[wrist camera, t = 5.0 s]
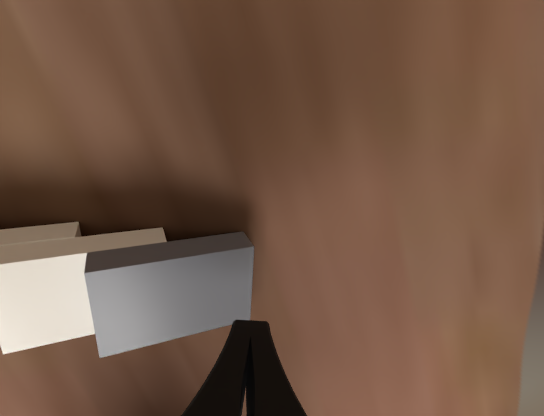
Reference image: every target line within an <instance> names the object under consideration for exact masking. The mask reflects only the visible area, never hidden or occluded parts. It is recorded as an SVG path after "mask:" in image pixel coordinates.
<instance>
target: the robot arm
mask: <svg viewBox="0 0 544 416" xmlns="http://www.w3.org/2000/svg"><path fill="white" fill-rule="evenodd" d="M245 389H246V407H247V416H307V415H306V413H305V411H304V409H303V408H302V406H301V404H300V402H299V401H298V399H297V397H296V395H295V393H294V391H293V389H292V387H291V385H290V383H289V381H288V379H287V376H286V374H285V372H284V370H283V367H282V365H281V362H280V360H279V357H278V355H277V352H276V349H275V346H274V343H273V340H272V336H271V332H270V327H269V323H268V322H267V321H251V320H235V321H233V324H232V328H231V331H230V334H229V336H228V339H227V341H226V343H225V345H224V348H223V350H222V352H221V353H220V355H219V357H218V359H217V361H216V363H215V365H214V367H213V368H212V370H211V372H210V374H209V375H208V377H207V379H206V380H205V382H204V384H203V385H202V387H201V388H200V390H199V391H198V393H197V394H196V396H195V397H194V399H193V400H192V401H191V403H190V404H189V406H188V407H187V408H186V410H185V411H184V412H183V414H182V415H181V416H241V415H242V408H243V402H244V395H245Z"/></svg>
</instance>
